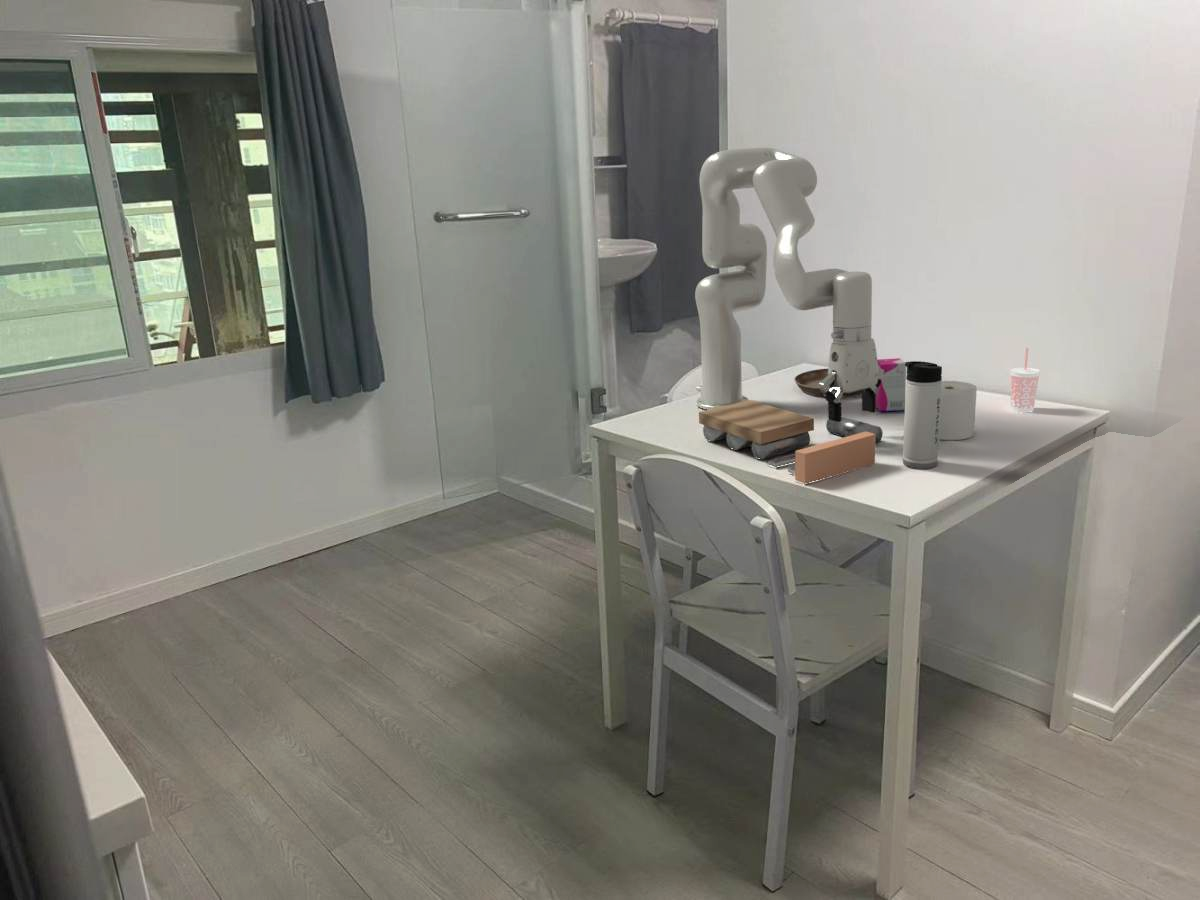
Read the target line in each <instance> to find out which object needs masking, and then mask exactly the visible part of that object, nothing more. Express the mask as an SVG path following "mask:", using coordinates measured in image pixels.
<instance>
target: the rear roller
mask: <svg viewBox="0 0 1200 900" xmlns="http://www.w3.org/2000/svg"><path fill="white" fill-rule="evenodd" d="M702 432H703V436H704V438H705V439H707V440H706V441H708V440H710V441H711V442H714V441H718V440H722V438H723V439H727V438H726V437H727V434H728V433H726V432H723V431H720V430H717V429H714V428H712V427H709V426H706V425H703V428H702ZM710 441H709V442H710Z"/></svg>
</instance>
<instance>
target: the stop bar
mask: <svg viewBox="0 0 1200 900" xmlns="http://www.w3.org/2000/svg"><path fill="white" fill-rule="evenodd" d="M875 438H876V434H873V433H870V432H866V431H865V432H862V433H858V434H855V435H851V436H847V437H840V438H838V439H837V438H836V439H834V440H830V441H826V442H822V443H819V444H815V445H811V446H807V447H804V448H800V449H797V450H794V451H795V452H794V454H795V463H794V464H795V465H794V466H795V476H794V477H795V479H794V480H797V481H799V482H802V483H804V484H805V483H809V482H812V481H816V480H820V479H823V478H827V477H830V476H833V477H835V476H834V475H837V474H840V475H842V474H841V473H843V474H845V473H844V472H847V471H850V472H852V471H851V470H853V471H855V470H854V469H856V470H859V469H858V468H860V469H862V467H863V468H866V467H869V465H870V466H873V465H875V463H876V444H875ZM865 466H866V467H865ZM847 473H848V472H847ZM837 476H838V475H837ZM830 478H831V477H830ZM827 479H828V478H827ZM823 480H824V479H823ZM820 481H821V480H820Z"/></svg>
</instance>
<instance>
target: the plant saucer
mask: <svg viewBox="0 0 1200 900" xmlns="http://www.w3.org/2000/svg"><path fill="white" fill-rule="evenodd" d="M827 376H828V368H818V369H813V370H807V371H804V372H801V373H799V374H797V375H796V376H794V379H793V381H794V382H795V384H796V385H797V386H798V387H799V389H800V390H802V392H804V393H806V394H808V395H810V394H811V396H814V397H815V396H816V397H821V398H824V397H823V395H822V392H821V390H820V388H819V383H820V382H821V381H822V380H823V379H824V378H825V377H827ZM829 390H830V388H829ZM862 392H865V391H864V389H863V390H859V391H855V392H851V393H845V392H844V393H843V395H842V397H841V398H850V396H851V397H856V395H857V396H862ZM836 393H837V392H835V393H834V395H836Z"/></svg>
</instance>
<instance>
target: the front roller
mask: <svg viewBox="0 0 1200 900" xmlns="http://www.w3.org/2000/svg"><path fill="white" fill-rule="evenodd" d="M810 443H811V437H810V432H805V433H801V434H798V435H794V436H790V437H786V438H783V439H779V440H775V441H771V442H768V443H764V444H759V443H756V442H753V443H752V446H751V452H752V454H753V456H754V457H755V458H756V457H757V458H760V459H759V460H763V459H766V458H767V457H768V458H771V457H774V456H778V455H782V454H785V453H790V452H792V451H797V450H800V449H804V448H808V447H809V446H810ZM757 458H756V459H757Z"/></svg>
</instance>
